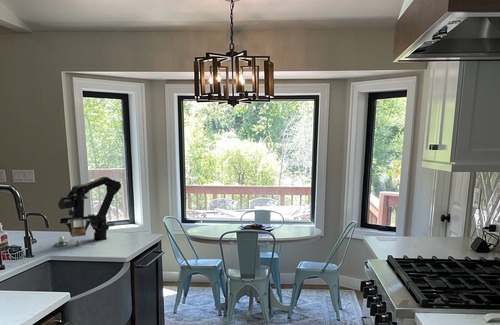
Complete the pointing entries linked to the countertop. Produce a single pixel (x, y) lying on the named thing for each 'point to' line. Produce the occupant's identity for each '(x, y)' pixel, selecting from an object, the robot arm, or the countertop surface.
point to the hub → (61, 242)
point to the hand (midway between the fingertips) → (78, 233)
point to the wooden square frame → (78, 231)
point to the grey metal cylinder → (77, 243)
